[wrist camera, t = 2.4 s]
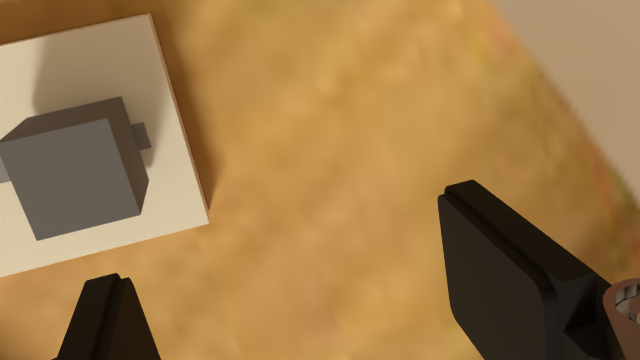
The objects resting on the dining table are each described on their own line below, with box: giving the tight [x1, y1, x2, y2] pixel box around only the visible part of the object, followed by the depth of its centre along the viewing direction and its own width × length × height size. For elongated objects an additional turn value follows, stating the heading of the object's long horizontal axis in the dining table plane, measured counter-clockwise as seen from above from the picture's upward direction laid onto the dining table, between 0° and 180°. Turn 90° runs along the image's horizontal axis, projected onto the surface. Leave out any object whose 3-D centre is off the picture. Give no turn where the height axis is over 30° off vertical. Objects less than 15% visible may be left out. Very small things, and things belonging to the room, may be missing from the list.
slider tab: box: [0, 96, 149, 241], centre depth 23 cm, size 4×4×4 cm
